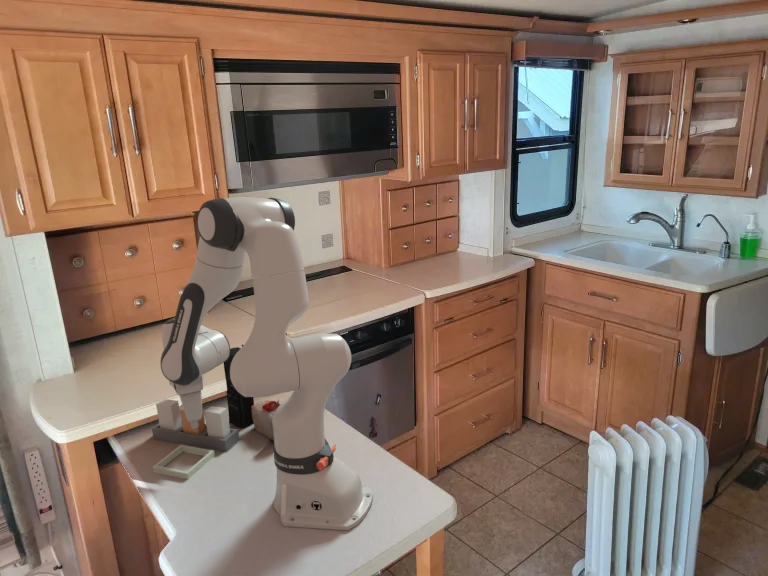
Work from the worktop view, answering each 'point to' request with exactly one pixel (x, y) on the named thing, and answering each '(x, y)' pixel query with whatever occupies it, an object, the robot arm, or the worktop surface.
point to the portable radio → (237, 398)
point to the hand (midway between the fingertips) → (193, 421)
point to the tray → (179, 473)
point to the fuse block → (212, 438)
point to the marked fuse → (187, 424)
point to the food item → (264, 417)
